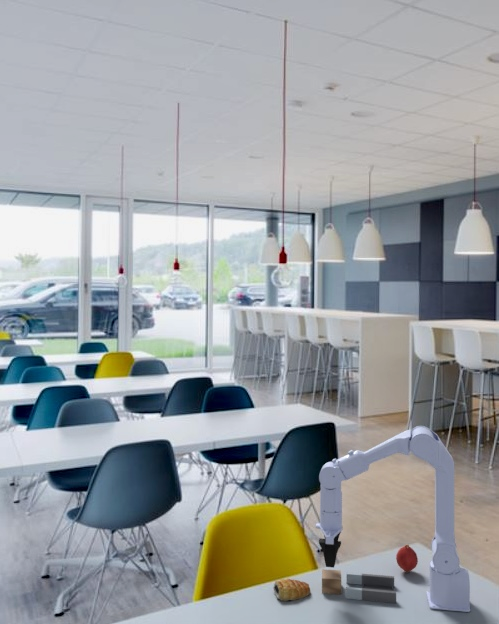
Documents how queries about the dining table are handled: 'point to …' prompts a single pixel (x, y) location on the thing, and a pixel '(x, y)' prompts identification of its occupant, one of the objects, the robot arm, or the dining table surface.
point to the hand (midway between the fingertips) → (330, 559)
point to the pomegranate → (407, 558)
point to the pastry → (291, 589)
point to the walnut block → (331, 581)
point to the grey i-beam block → (371, 587)
